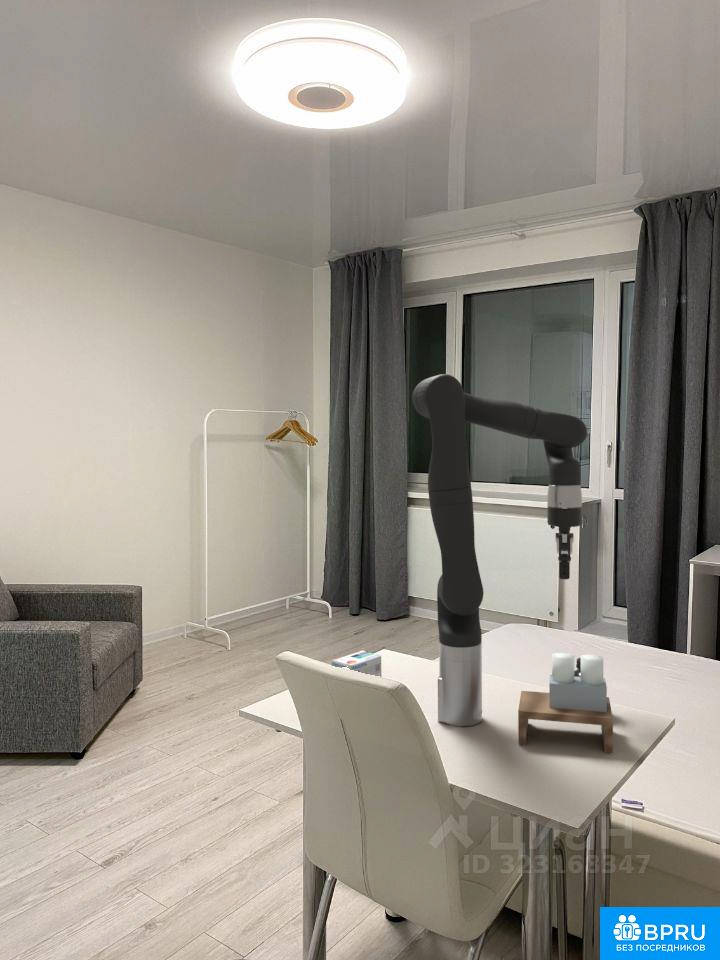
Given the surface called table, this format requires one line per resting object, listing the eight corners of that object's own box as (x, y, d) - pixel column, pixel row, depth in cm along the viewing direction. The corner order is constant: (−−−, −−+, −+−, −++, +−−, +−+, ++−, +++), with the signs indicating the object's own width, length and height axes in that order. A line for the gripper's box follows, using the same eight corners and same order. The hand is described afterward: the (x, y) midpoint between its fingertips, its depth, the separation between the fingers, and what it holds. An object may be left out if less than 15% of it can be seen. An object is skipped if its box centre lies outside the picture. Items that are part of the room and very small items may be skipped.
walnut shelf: (518, 744, 148) (518, 710, 147) (521, 722, 159) (521, 690, 159) (612, 753, 143) (612, 718, 143) (608, 729, 155) (608, 697, 154)
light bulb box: (362, 692, 179) (362, 649, 179) (383, 699, 175) (382, 654, 174) (331, 704, 172) (330, 659, 171) (351, 711, 167) (350, 665, 166)
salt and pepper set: (549, 707, 149) (549, 658, 148) (549, 698, 154) (549, 651, 154) (606, 712, 146) (606, 662, 146) (604, 702, 151) (605, 654, 151)
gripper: (547, 501, 175) (547, 569, 176) (546, 507, 161) (546, 580, 162) (580, 502, 173) (580, 570, 174) (582, 507, 159) (582, 582, 160)
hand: (564, 575), depth 168 cm, fingers open, 8 cm apart
